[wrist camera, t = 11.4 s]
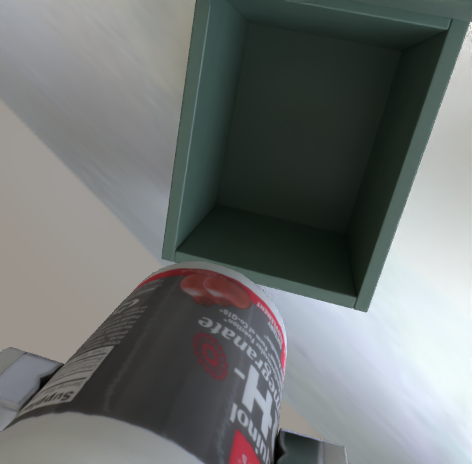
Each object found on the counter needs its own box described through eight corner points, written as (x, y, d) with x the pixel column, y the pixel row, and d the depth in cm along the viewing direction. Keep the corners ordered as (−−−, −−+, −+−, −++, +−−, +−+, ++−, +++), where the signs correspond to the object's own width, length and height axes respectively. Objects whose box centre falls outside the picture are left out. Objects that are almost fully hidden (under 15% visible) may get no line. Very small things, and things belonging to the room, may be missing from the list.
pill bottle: (325, 339, 13) (346, 989, 4) (214, 424, 15) (41, 983, 5) (196, 220, 12) (-170, 615, 3) (98, 324, 14) (-303, 755, 5)
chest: (351, 242, 34) (367, 313, 24) (209, 207, 36) (160, 259, 25) (415, 42, 29) (473, 13, 18) (243, 10, 30) (199, -34, 19)
